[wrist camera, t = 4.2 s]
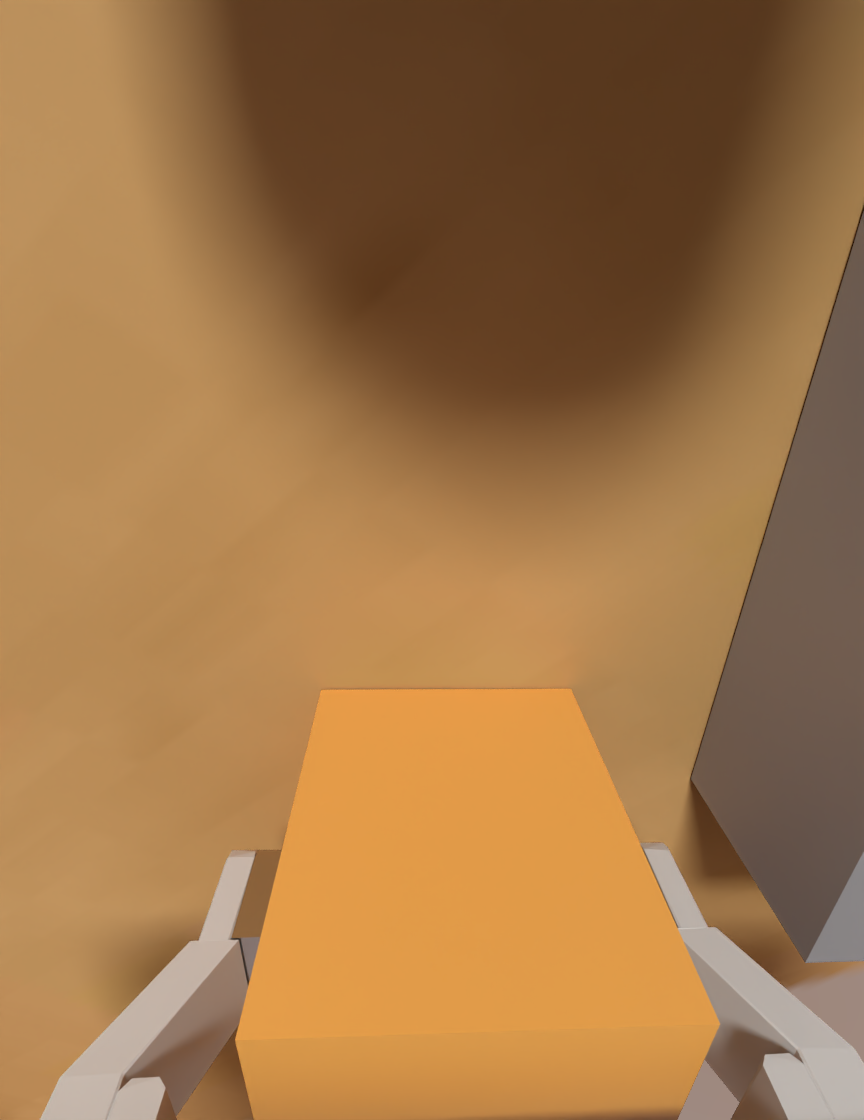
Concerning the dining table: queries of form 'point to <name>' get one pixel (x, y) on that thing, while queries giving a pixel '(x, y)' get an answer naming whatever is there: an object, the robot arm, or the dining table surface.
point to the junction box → (804, 669)
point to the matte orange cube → (466, 926)
